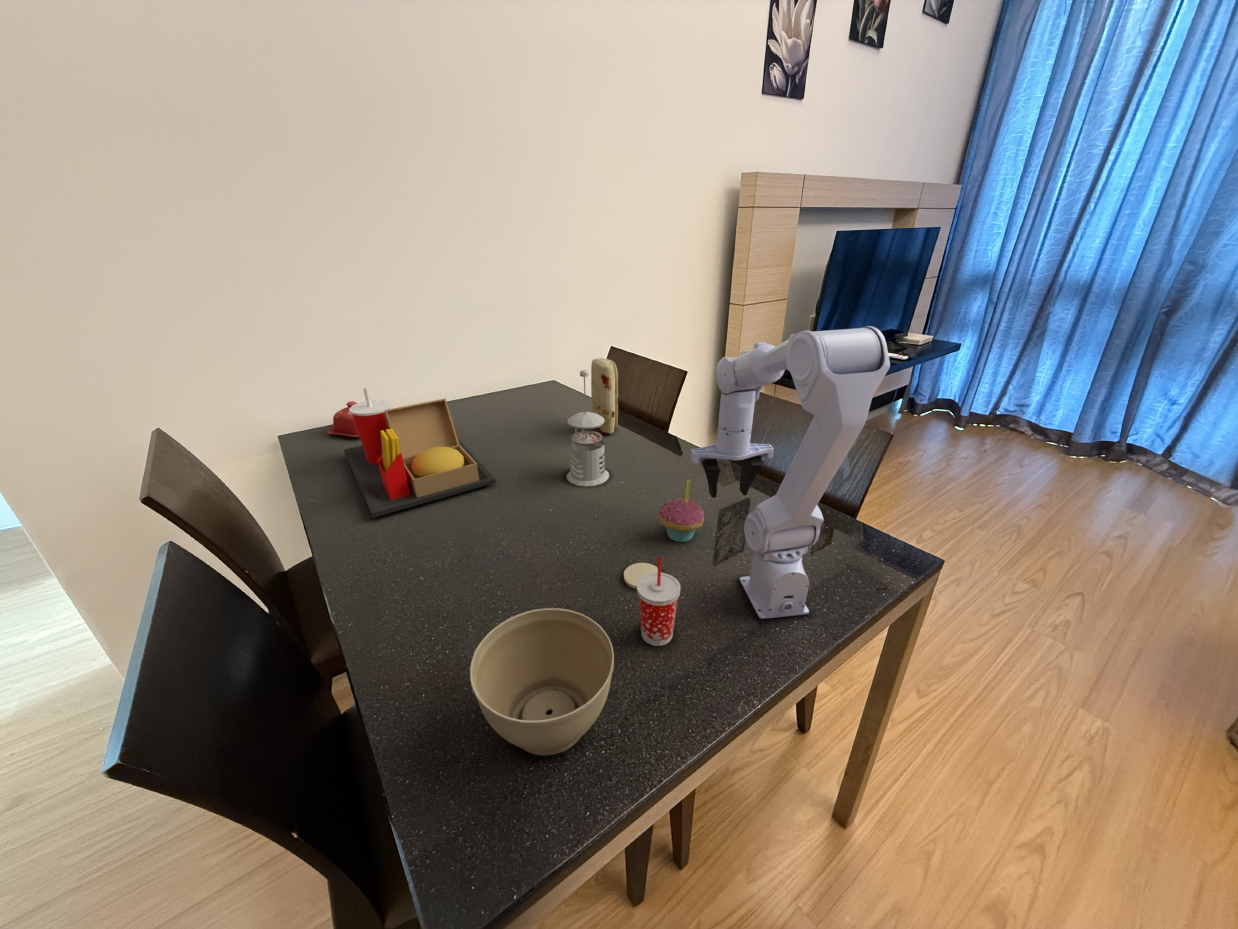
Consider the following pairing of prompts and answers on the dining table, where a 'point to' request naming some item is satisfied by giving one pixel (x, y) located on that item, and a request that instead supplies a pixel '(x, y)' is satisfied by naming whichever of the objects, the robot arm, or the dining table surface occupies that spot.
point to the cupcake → (681, 517)
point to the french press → (586, 448)
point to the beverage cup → (658, 606)
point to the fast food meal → (410, 455)
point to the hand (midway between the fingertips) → (727, 493)
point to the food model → (605, 393)
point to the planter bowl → (543, 678)
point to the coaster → (638, 573)
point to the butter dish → (344, 422)
